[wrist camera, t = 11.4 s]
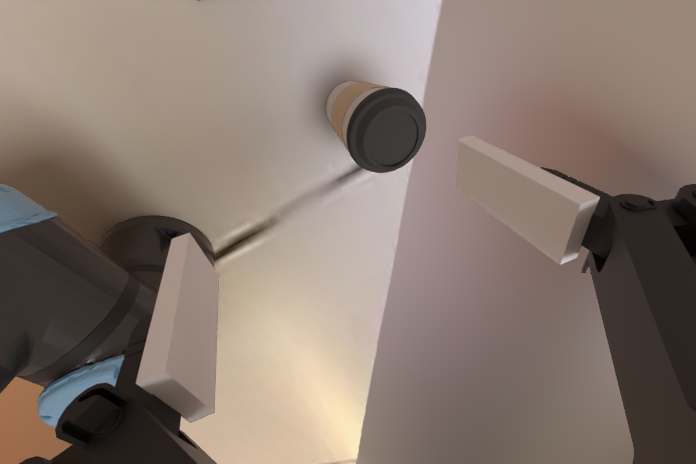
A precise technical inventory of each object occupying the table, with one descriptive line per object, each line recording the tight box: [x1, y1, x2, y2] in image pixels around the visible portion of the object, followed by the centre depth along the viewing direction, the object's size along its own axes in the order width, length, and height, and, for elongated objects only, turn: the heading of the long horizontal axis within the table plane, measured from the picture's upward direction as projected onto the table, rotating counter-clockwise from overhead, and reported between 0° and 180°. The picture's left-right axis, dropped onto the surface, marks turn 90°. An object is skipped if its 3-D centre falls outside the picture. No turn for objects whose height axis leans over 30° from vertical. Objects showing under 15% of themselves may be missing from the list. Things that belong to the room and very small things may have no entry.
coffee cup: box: [326, 81, 426, 173], centre depth 37 cm, size 9×9×15 cm
